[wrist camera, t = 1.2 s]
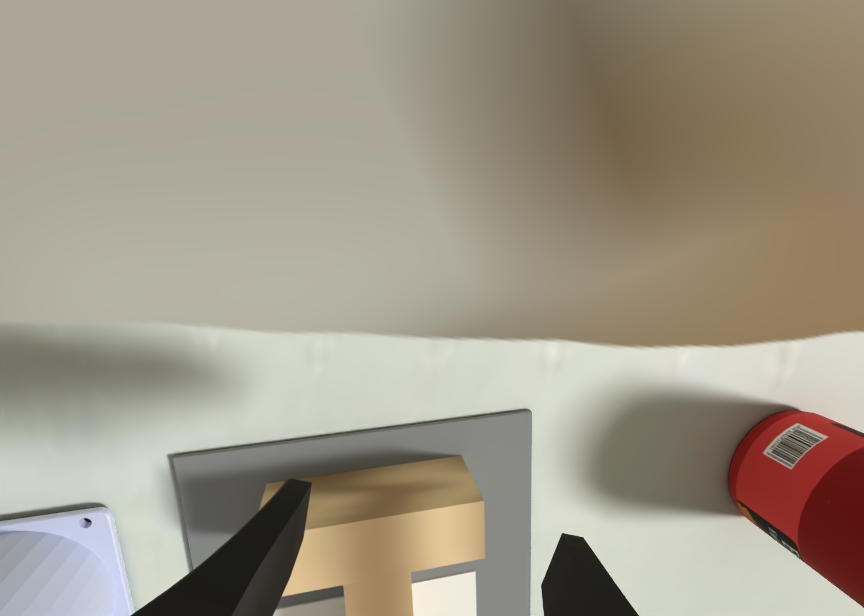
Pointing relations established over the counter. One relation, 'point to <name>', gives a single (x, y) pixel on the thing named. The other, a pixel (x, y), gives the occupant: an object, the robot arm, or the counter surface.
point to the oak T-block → (386, 531)
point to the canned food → (806, 492)
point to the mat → (470, 437)
